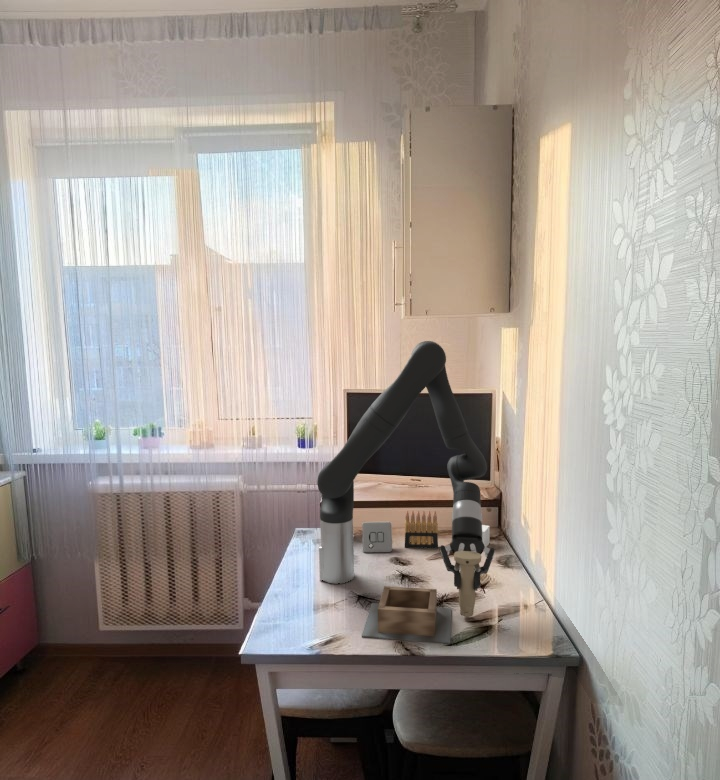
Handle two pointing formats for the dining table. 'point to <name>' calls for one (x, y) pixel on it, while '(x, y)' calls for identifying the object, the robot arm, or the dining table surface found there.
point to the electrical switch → (377, 536)
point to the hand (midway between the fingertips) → (467, 588)
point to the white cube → (486, 535)
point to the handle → (467, 580)
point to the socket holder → (408, 616)
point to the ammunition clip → (421, 531)
